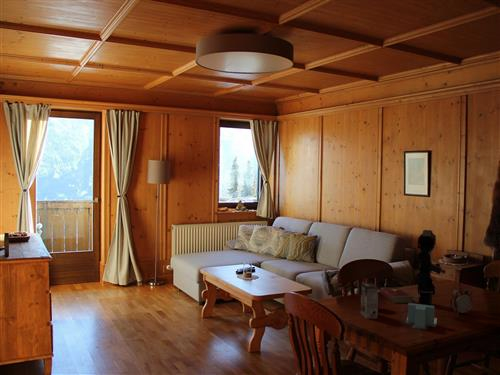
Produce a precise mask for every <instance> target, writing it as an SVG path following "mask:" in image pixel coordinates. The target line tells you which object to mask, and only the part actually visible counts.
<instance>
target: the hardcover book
mask: <svg viewBox="0 0 500 375" xmlns="http://www.w3.org/2000/svg"><path fill="white" fill-rule="evenodd" d="M380 295H382V296H383V297H385V298H386V299H387V300H388V301H390V302H391V303H392V304H395V303H397V304H398V303H399V304H401V303H402V304H403V303H404V304H405V303H406V304H407V303H408V304H409V303H413V298H414V296H413V295H411V294H410V293H408V292H407V291H405V290H404V289H403V288H401V287H381V288H380Z"/></svg>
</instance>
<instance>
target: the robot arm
mask: <svg viewBox="0 0 500 375" xmlns="http://www.w3.org/2000/svg"><path fill="white" fill-rule="evenodd" d="M436 237H437V236H436V234H434V233H433V230H431V229H423V231H422V233H420V234H419V236H418V237H417V249H419V253H418V255H417V258H418V263H419V266H418V271H417V277H418V279H419V282H417V294H418V301H417V302H416V304H421V305H429V306H434V305H435V304H434V303H433V296H434V295H436V286H435V284H434V282H433V278H431V276H432V272H433V273H436V274H437V275H441V273H442V270H443V267H442V266H441V264H440V263H432V262H433V261H432V252H433V251H434V249H435V246H436V245H437V238H436Z"/></svg>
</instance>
